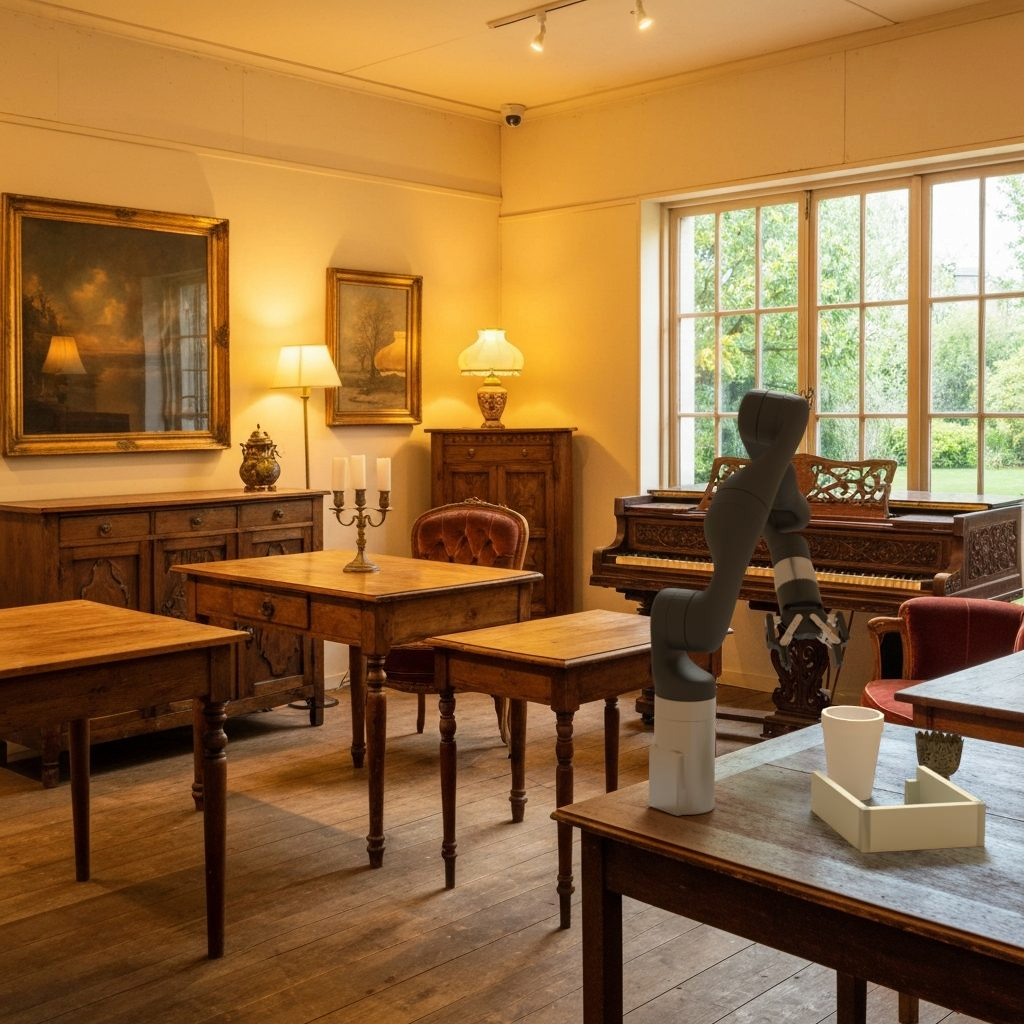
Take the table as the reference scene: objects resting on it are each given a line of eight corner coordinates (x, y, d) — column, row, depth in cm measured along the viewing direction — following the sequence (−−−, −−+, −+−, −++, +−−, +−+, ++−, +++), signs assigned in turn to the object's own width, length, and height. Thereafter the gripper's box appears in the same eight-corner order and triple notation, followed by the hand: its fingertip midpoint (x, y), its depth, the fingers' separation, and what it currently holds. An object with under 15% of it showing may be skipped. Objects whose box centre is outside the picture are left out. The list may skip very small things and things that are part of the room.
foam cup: (860, 808, 186) (863, 724, 185) (808, 794, 193) (810, 713, 192) (893, 794, 193) (895, 713, 191) (841, 781, 199) (842, 702, 198)
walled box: (810, 809, 186) (811, 770, 185) (922, 803, 188) (923, 765, 188) (861, 852, 168) (862, 810, 167) (984, 845, 170) (985, 803, 170)
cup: (965, 792, 194) (967, 742, 193) (916, 789, 195) (918, 740, 194) (958, 778, 201) (960, 730, 200) (911, 775, 202) (912, 728, 202)
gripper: (761, 578, 219) (776, 658, 209) (840, 575, 219) (859, 655, 210) (754, 600, 225) (768, 678, 216) (831, 597, 225) (849, 676, 216)
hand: (813, 667), depth 213 cm, fingers open, 8 cm apart
